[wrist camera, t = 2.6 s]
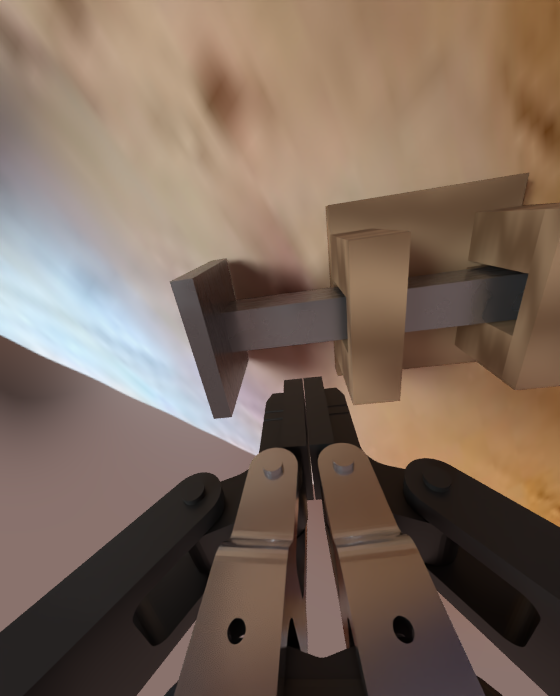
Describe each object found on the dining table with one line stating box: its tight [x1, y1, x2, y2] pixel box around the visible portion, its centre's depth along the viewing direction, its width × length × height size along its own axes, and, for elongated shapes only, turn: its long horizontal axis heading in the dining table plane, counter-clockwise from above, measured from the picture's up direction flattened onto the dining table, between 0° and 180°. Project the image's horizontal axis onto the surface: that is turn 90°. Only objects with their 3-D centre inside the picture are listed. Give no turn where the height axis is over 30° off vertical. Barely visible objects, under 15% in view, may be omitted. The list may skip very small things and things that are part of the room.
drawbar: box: [170, 258, 528, 419], centre depth 18 cm, size 9×30×8 cm, turn 98°
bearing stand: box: [326, 173, 560, 405], centre depth 18 cm, size 14×13×8 cm
